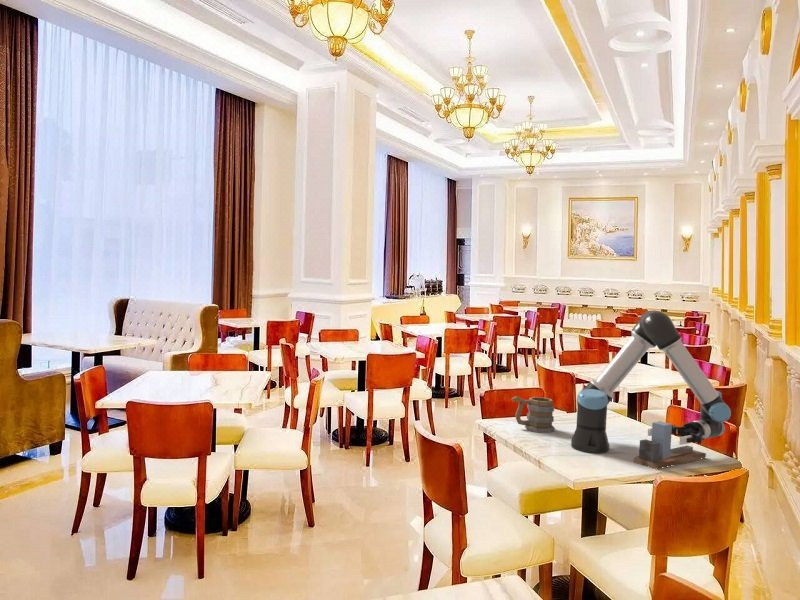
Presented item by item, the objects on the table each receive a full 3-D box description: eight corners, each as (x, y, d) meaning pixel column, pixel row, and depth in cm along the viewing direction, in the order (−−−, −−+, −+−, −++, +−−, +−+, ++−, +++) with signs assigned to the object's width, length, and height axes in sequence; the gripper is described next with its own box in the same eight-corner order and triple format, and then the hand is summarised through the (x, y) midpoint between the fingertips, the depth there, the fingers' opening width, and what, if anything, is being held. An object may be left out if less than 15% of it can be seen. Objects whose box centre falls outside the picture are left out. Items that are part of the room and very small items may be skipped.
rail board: (634, 462, 236) (635, 439, 236) (682, 451, 254) (683, 430, 254) (657, 469, 228) (658, 445, 228) (705, 458, 246) (707, 436, 245)
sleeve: (650, 455, 238) (652, 422, 237) (657, 454, 241) (659, 421, 240) (662, 459, 234) (664, 425, 233) (670, 457, 236) (672, 424, 236)
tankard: (550, 426, 289) (551, 394, 288) (556, 433, 276) (558, 400, 275) (507, 424, 289) (509, 392, 289) (512, 431, 277) (513, 398, 276)
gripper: (725, 447, 238) (694, 454, 227) (667, 432, 259) (635, 438, 248) (727, 428, 238) (695, 434, 226) (668, 415, 259) (636, 419, 247)
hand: (664, 436), depth 237 cm, fingers open, 13 cm apart
